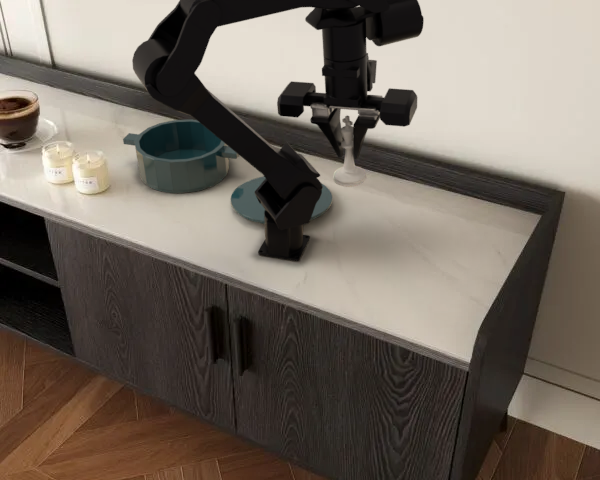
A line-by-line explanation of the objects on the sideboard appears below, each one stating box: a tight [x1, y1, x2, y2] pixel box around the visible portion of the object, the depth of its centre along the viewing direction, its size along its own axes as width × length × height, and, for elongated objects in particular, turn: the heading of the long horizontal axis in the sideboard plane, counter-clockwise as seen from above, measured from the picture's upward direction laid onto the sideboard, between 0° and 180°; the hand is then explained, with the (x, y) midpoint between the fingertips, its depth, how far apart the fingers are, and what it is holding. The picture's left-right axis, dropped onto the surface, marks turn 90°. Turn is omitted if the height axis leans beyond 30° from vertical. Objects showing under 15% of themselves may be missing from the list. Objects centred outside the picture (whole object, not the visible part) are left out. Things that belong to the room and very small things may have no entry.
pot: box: [122, 119, 240, 194], centre depth 133 cm, size 16×21×6 cm
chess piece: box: [332, 114, 367, 188], centre depth 110 cm, size 5×5×10 cm
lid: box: [230, 175, 333, 225], centre depth 123 cm, size 17×17×5 cm
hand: (348, 157), depth 111 cm, fingers closed on chess piece
